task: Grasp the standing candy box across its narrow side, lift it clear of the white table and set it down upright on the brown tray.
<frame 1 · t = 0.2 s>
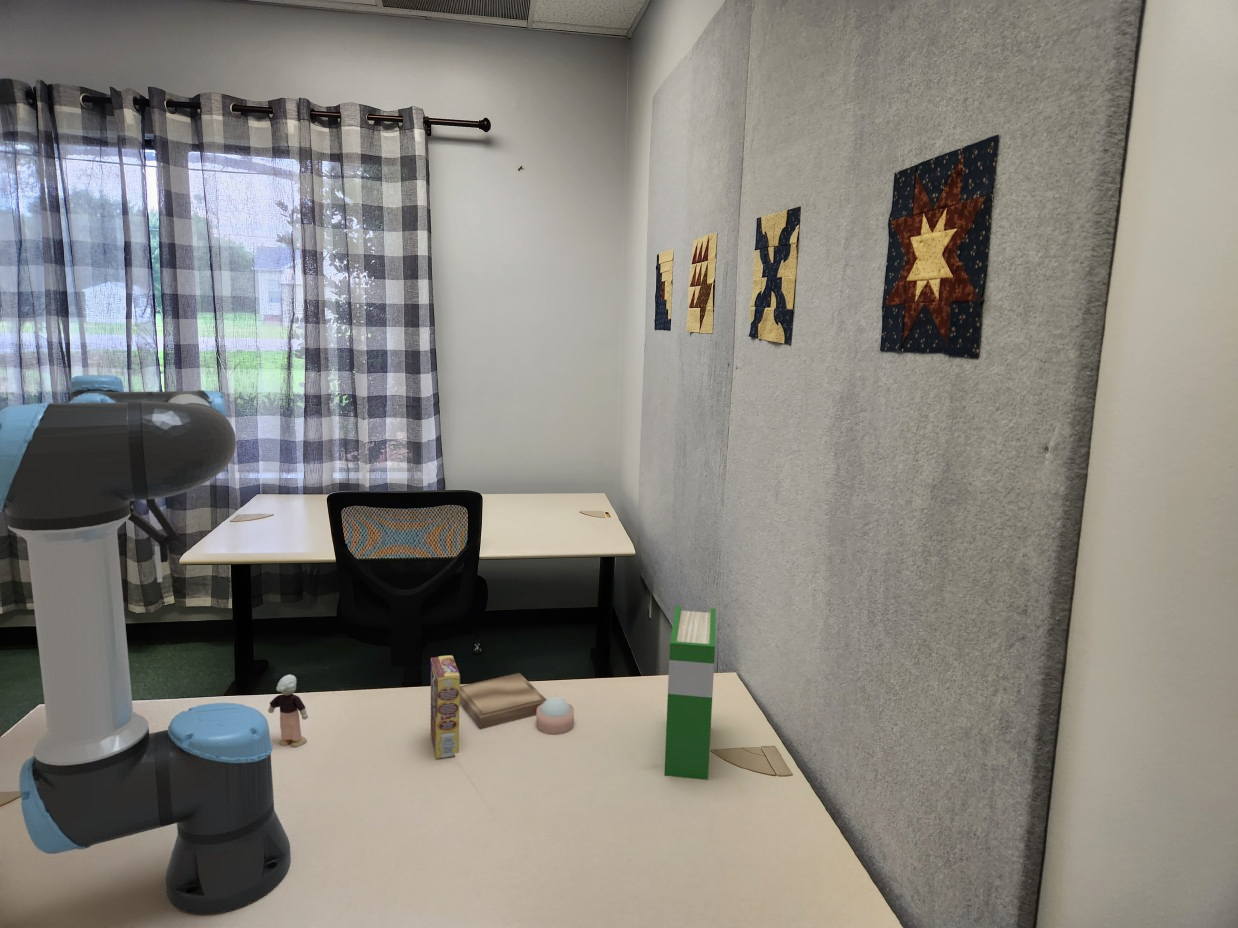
hand: (114, 585, 134), 28 cm above the table, fingers open, 13 cm apart
pincushion: (555, 724, 145), point 1 cm above the table
grandmother figurine: (290, 742, 138), on the table
hardback book: (688, 750, 139), on the table
candy box: (445, 746, 138), on the table
brown tray: (501, 708, 152), on the table
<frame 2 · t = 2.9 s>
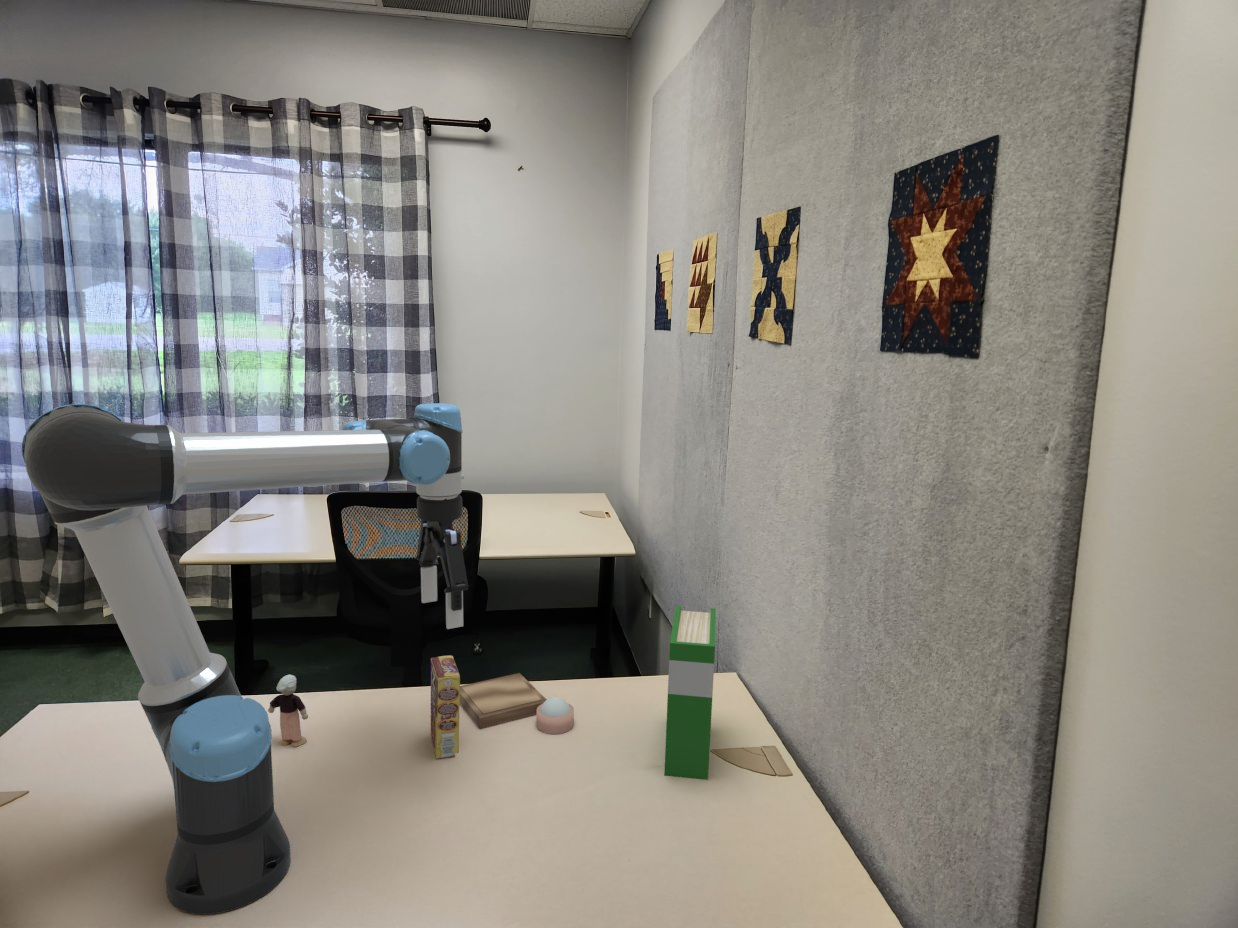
hand: (441, 613, 134), 25 cm above the table, fingers open, 13 cm apart
nothing on the table moved.
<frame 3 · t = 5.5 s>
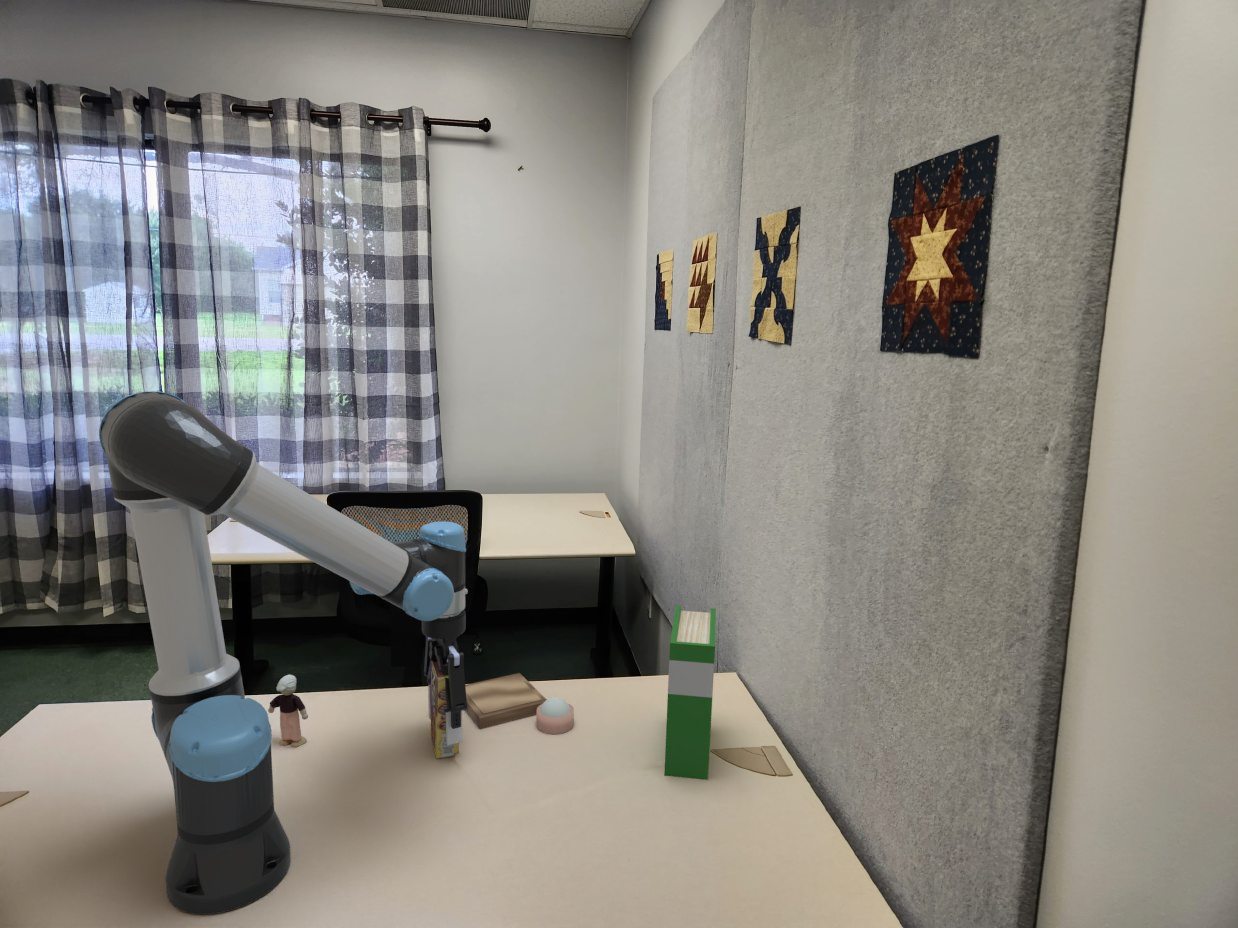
hand: (445, 729, 138), 3 cm above the table, fingers closed on candy box, 9 cm apart
candy box: (445, 745, 138), on the table, touching gripper
everything else where it was.
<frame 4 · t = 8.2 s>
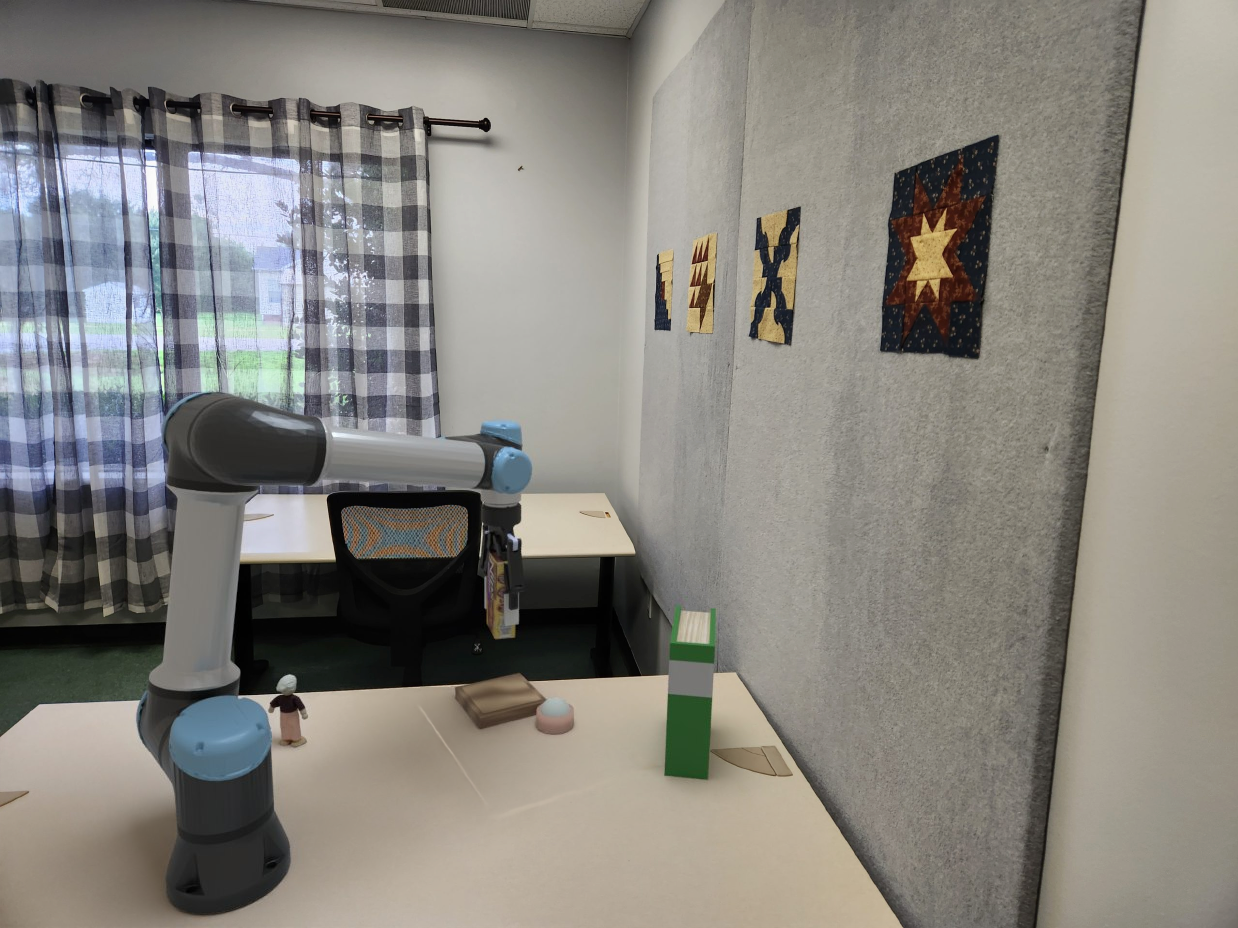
hand: (501, 615, 149), 19 cm above the table, fingers closed on candy box, 9 cm apart
candy box: (501, 631, 149), point 16 cm above the table, touching gripper
everything else where it was.
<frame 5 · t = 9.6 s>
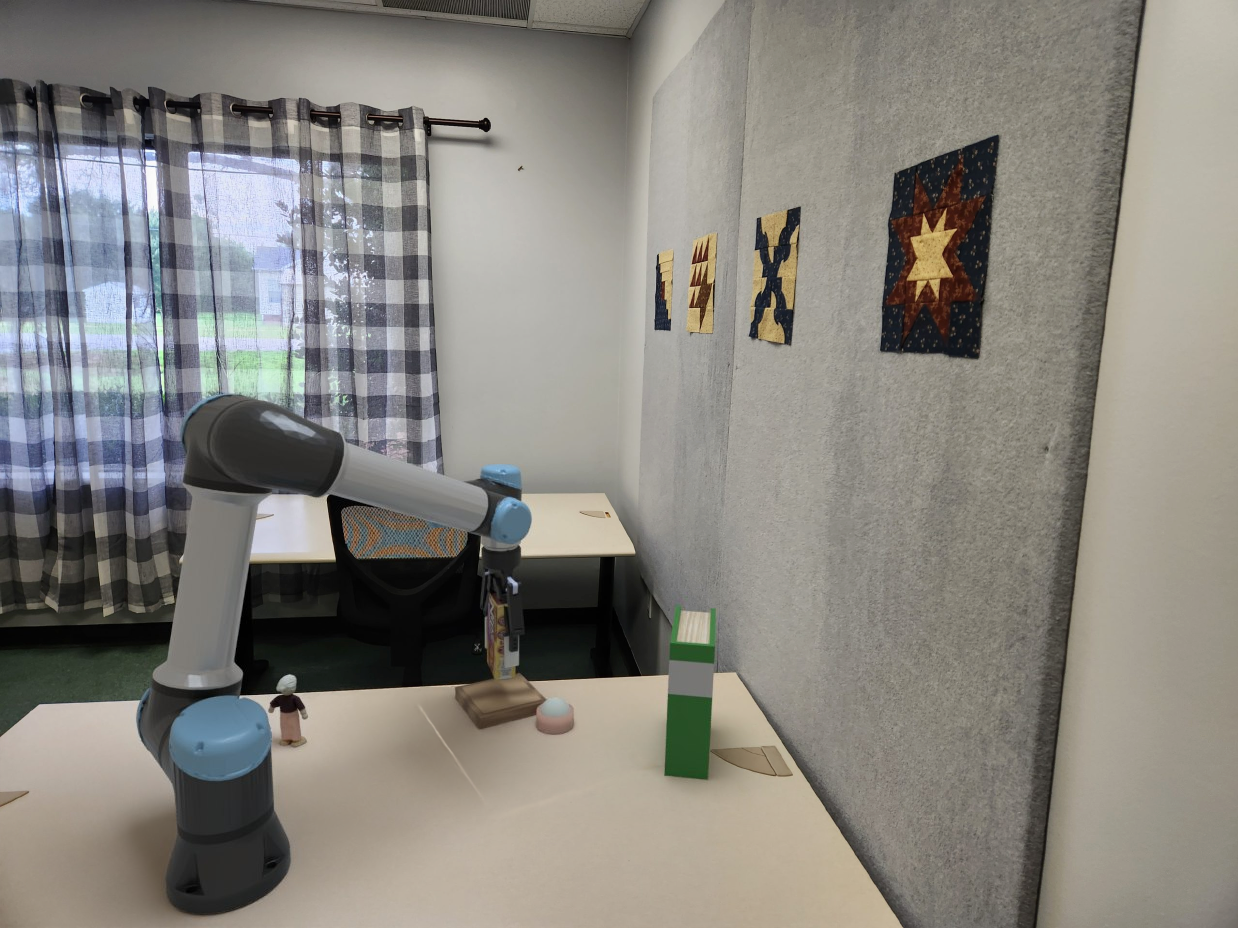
hand: (501, 655, 150), 11 cm above the table, fingers closed on candy box, 9 cm apart
candy box: (501, 671, 151), point 8 cm above the table, touching gripper
everything else where it was.
when the fingers open (7 cm above the table, at t = 10.9 s): candy box stays where it is, resting on brown tray.
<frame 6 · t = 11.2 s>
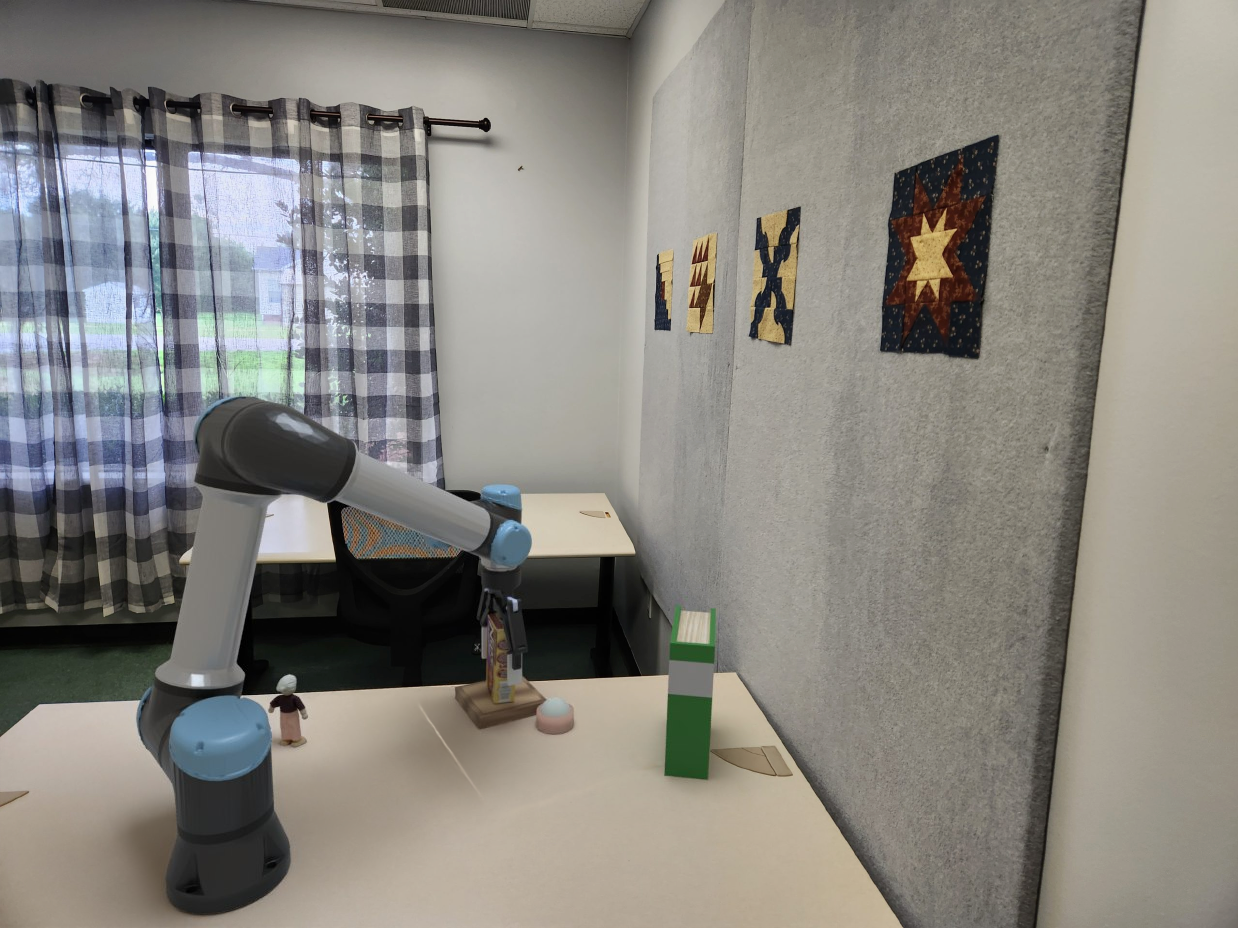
hand: (501, 669, 151), 8 cm above the table, fingers open, 13 cm apart
candy box: (500, 694, 152), point 3 cm above the table, touching brown tray
everything else where it was.
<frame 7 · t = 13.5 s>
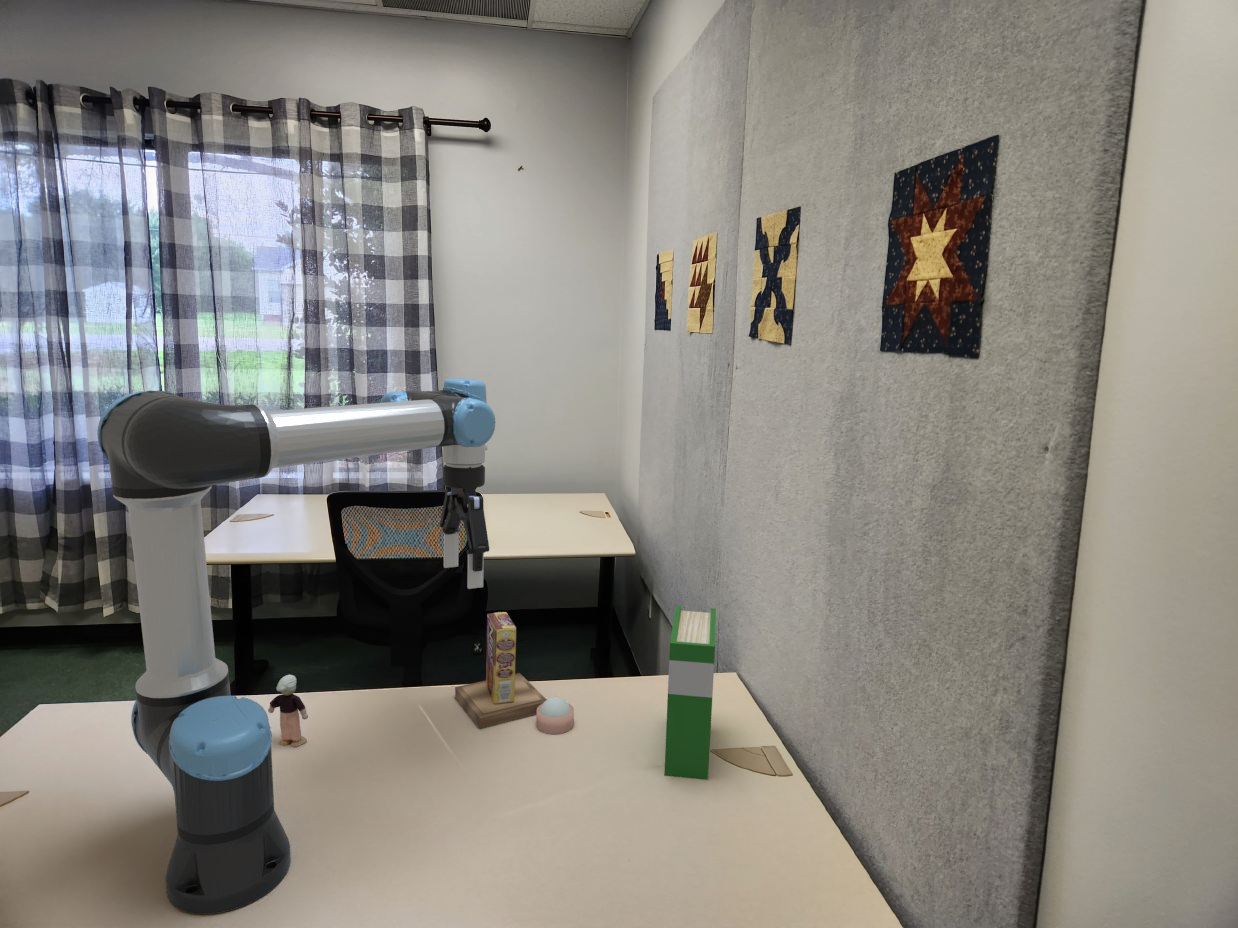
hand: (462, 576, 143), 28 cm above the table, fingers open, 13 cm apart
nothing on the table moved.
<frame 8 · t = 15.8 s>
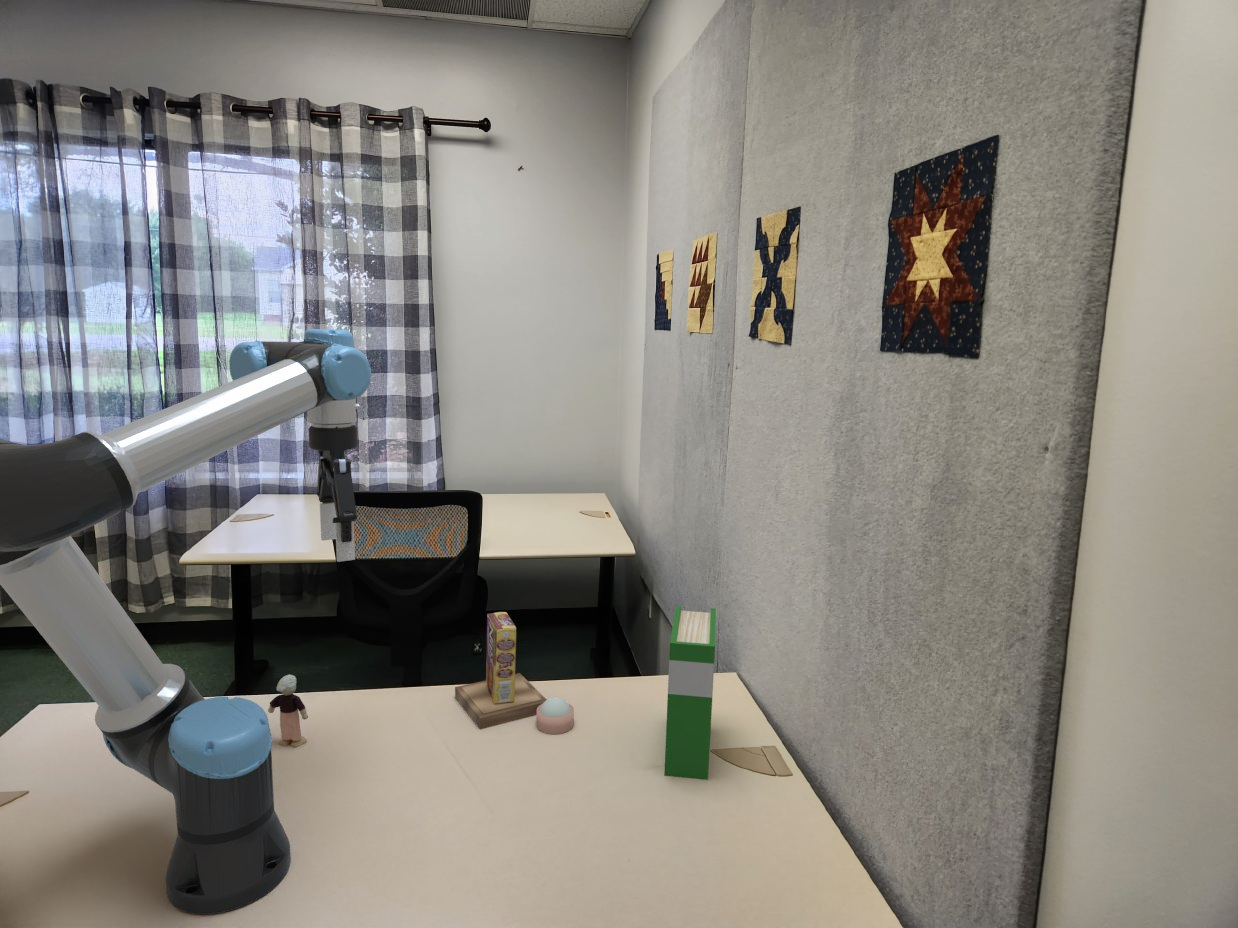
hand: (337, 549, 129), 37 cm above the table, fingers open, 13 cm apart
nothing on the table moved.
at the end: candy box inside the target area on the brown tray (0.1 cm from its centre), point 2.9 cm above the brown tray's base; candy box tilted 0°; the gripper is holding nothing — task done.
